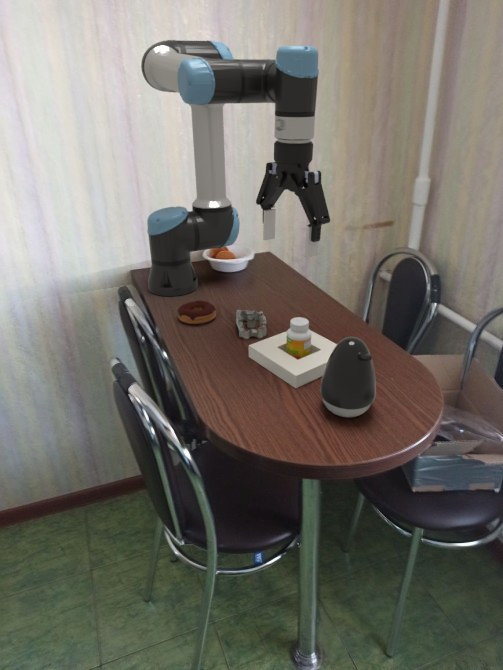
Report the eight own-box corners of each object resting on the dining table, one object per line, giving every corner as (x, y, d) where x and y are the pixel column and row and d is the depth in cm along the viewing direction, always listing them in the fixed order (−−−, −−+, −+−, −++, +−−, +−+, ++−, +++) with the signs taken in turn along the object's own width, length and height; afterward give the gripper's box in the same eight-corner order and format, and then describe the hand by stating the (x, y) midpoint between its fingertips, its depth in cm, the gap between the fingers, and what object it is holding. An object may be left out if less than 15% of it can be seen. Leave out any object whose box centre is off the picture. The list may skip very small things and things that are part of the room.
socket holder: (248, 356, 108) (248, 345, 107) (300, 336, 116) (301, 325, 115) (295, 388, 97) (296, 375, 95) (349, 363, 105) (350, 351, 104)
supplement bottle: (281, 360, 107) (281, 321, 102) (295, 351, 110) (297, 313, 106) (299, 368, 103) (301, 329, 99) (314, 359, 107) (317, 320, 102)
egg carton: (267, 339, 116) (267, 324, 114) (236, 340, 116) (236, 325, 114) (264, 320, 125) (265, 306, 123) (236, 320, 125) (236, 306, 123)
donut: (212, 308, 132) (211, 295, 130) (220, 323, 123) (219, 309, 122) (175, 313, 129) (174, 300, 127) (181, 329, 121) (180, 315, 119)
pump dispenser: (338, 432, 84) (345, 358, 77) (309, 400, 93) (313, 331, 86) (384, 417, 88) (395, 346, 81) (352, 388, 96) (360, 321, 89)
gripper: (239, 135, 97) (240, 235, 108) (326, 149, 80) (316, 268, 90) (268, 132, 101) (266, 230, 112) (356, 146, 84) (344, 260, 94)
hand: (289, 247), depth 101 cm, fingers open, 13 cm apart
